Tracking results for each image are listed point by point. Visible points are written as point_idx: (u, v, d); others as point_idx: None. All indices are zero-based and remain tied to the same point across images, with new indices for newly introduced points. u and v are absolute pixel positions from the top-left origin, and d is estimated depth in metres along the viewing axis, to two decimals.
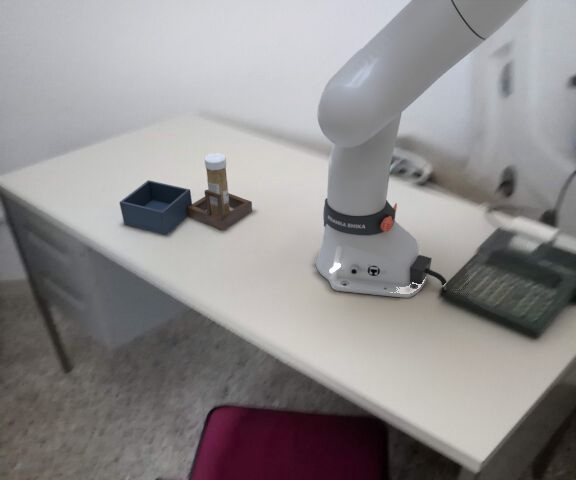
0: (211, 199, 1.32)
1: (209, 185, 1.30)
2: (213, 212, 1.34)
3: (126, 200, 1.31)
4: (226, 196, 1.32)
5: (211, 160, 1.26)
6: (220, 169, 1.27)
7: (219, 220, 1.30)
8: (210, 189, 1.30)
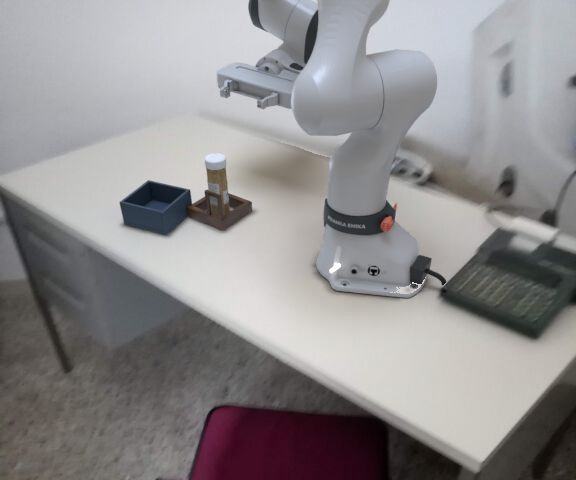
0: (211, 199, 1.32)
1: (209, 185, 1.30)
2: (213, 212, 1.34)
3: (126, 200, 1.31)
4: (226, 196, 1.32)
5: (211, 160, 1.26)
6: (220, 169, 1.27)
7: (219, 220, 1.30)
8: (210, 189, 1.30)
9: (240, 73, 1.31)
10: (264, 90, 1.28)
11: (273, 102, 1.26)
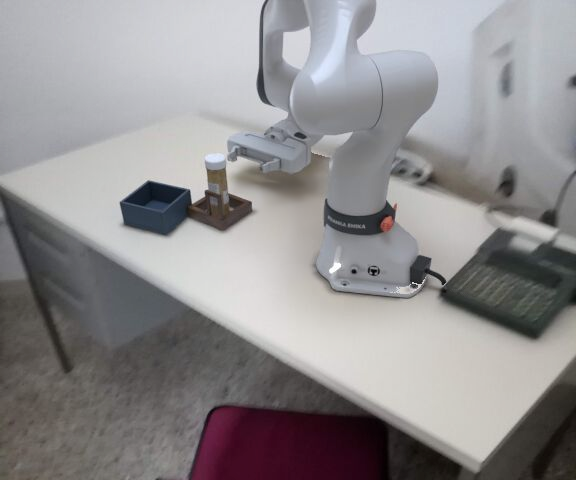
0: (211, 199, 1.32)
1: (209, 185, 1.30)
2: (213, 212, 1.34)
3: (126, 200, 1.31)
4: (226, 196, 1.32)
5: (211, 160, 1.26)
6: (220, 169, 1.27)
7: (219, 220, 1.30)
8: (210, 189, 1.30)
9: (248, 139, 1.41)
10: (268, 156, 1.38)
11: (275, 167, 1.35)
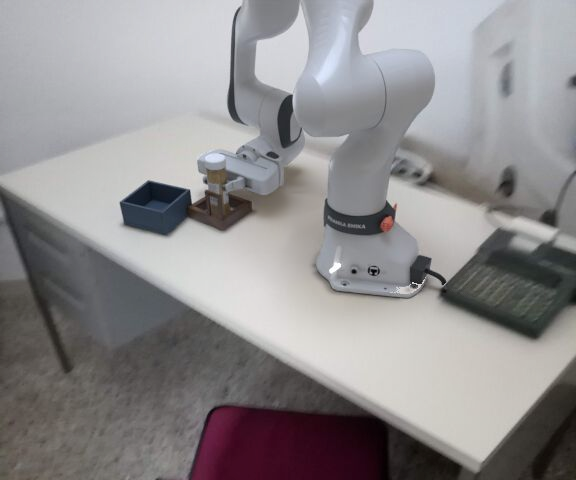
0: (211, 199, 1.32)
1: (209, 185, 1.30)
2: (213, 212, 1.34)
3: (126, 200, 1.31)
4: (226, 196, 1.32)
5: (211, 160, 1.26)
6: (220, 169, 1.27)
7: (219, 220, 1.30)
8: (210, 189, 1.30)
9: None
10: (239, 176, 1.32)
11: (238, 186, 1.31)
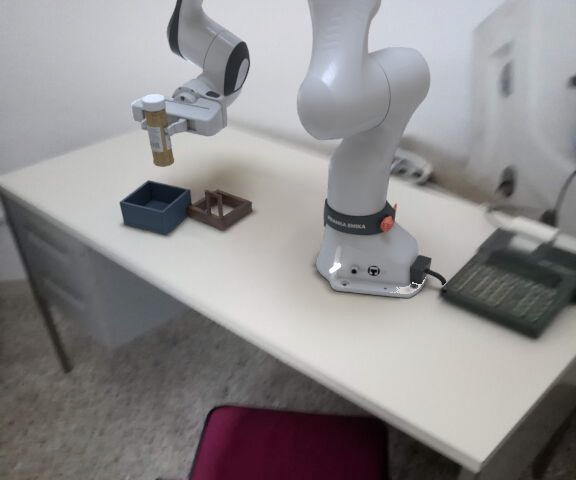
0: (153, 145, 1.23)
1: (149, 129, 1.21)
2: (156, 160, 1.25)
3: (126, 200, 1.31)
4: (169, 141, 1.23)
5: (150, 101, 1.16)
6: (160, 110, 1.18)
7: (219, 220, 1.30)
8: (151, 134, 1.21)
9: None
10: (180, 119, 1.24)
11: (181, 128, 1.22)
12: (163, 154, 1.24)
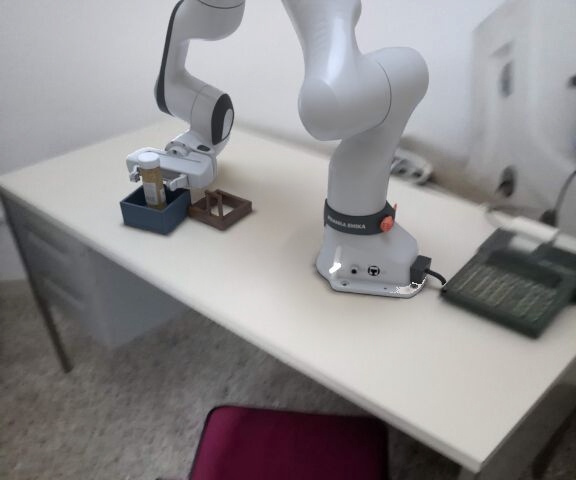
0: (148, 199, 1.30)
1: (145, 185, 1.28)
2: None
3: (126, 200, 1.31)
4: (163, 194, 1.31)
5: (145, 159, 1.24)
6: (155, 167, 1.25)
7: (219, 220, 1.30)
8: (146, 189, 1.29)
9: None
10: (173, 172, 1.31)
11: (182, 183, 1.29)
12: (158, 207, 1.31)
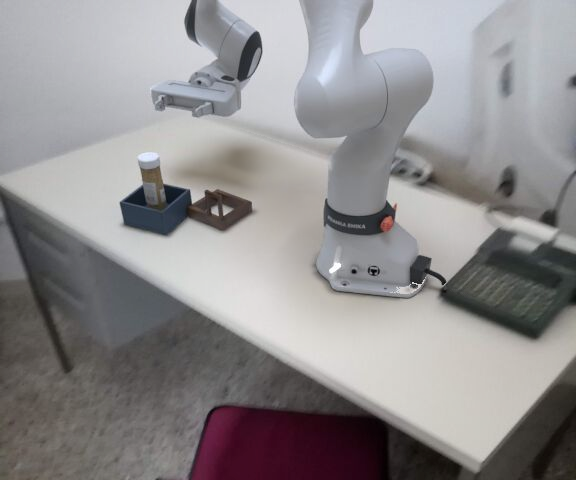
0: (148, 199, 1.30)
1: (145, 185, 1.28)
2: None
3: (126, 200, 1.31)
4: (163, 194, 1.31)
5: (145, 159, 1.24)
6: (155, 167, 1.25)
7: (219, 220, 1.30)
8: (146, 189, 1.29)
9: (174, 88, 1.34)
10: (198, 101, 1.31)
11: (207, 111, 1.29)
12: (158, 207, 1.31)
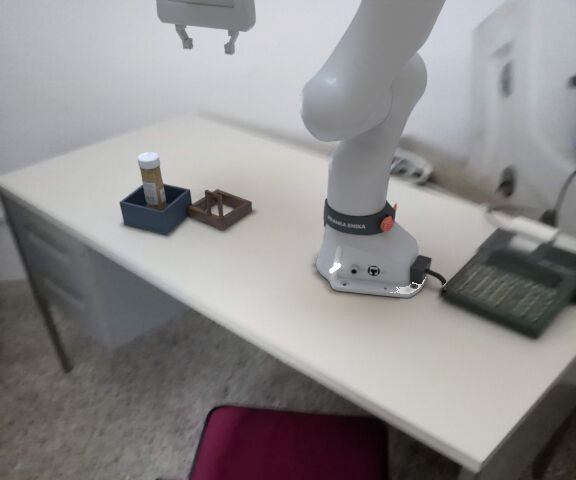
0: (148, 199, 1.30)
1: (145, 185, 1.28)
2: None
3: (126, 200, 1.31)
4: (163, 194, 1.31)
5: (145, 159, 1.24)
6: (155, 167, 1.25)
7: (219, 220, 1.30)
8: (146, 189, 1.29)
9: (179, 10, 1.16)
10: None
11: (236, 37, 1.18)
12: (158, 207, 1.31)
